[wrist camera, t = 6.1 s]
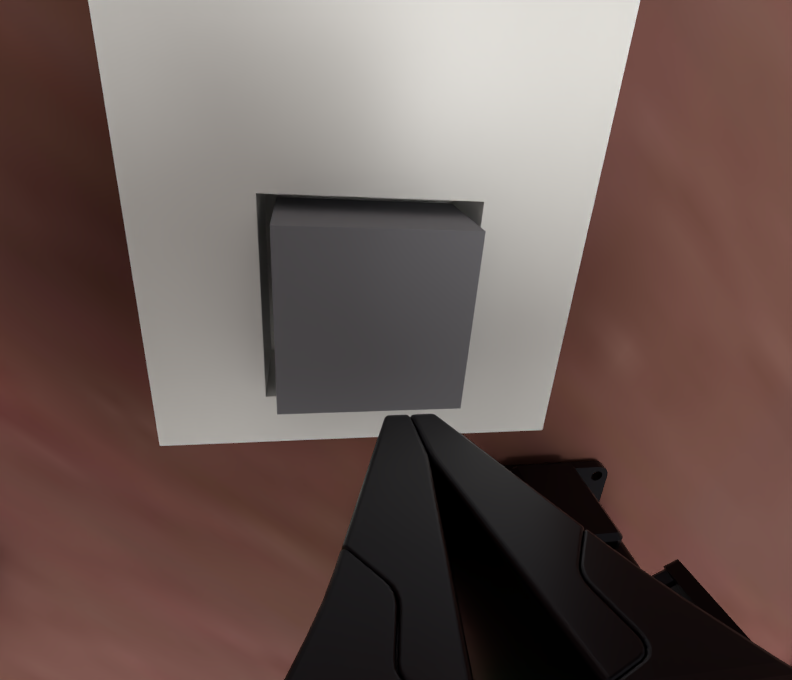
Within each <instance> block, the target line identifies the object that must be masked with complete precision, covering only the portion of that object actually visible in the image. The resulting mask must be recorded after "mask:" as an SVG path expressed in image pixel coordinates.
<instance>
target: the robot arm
mask: <svg viewBox="0 0 792 680" xmlns="http://www.w3.org/2000/svg"><path fill="white" fill-rule="evenodd" d="M595 472H596V473H595ZM593 473H594V474H593ZM606 478H607V470H606V468H605V467H604V466H603V465H602V463H600V462H599V461H586V462H567V463H548V464H530V465H511V466H503V465H501V464H500V463H499V462H497V461H496V460H495V459H493V458H492V457H491V456H489V455H488V454H487V453H485V452H484V451H483V450H481V449H480V448H479V447H477V446H476V445H475V444H474V443H472V442H471V441H470V440H468V439H467V438H466V437H464V436H463V435H462V434H460V433H459V432H458V431H456V430H455V429H454V428H452V427H451V426H450V425H448V424H447V423H446V422H444V421H443V420H442V419H441V418H439V417H438V416H436V415H435V414H414V415H412V416H411V417H409V416H408V415H387V416H386V417H385V418H384V421H383V424H382V427H381V430H380V433H379V436H378V439H377V442H376V445H375V448H374V451H373V454H372V457H371V460H370V464H369V467H368V470H367V473H366V476H365V479H364V482H363V485H362V488H361V491H360V494H359V497H358V500H357V503H356V506H355V509H354V512H353V515H352V518H351V521H350V525H349V528H348V531H347V534H346V537H345V540H344V543H343V546H342V550H341V551H340V554H339V557H338V560H337V563H336V566H335V569H334V572H333V575H332V577H331V580H330V583H329V585H328V588H327V591H326V593H325V596H324V599H323V601H322V604H321V606H320V608H319V610H318V612H317V614H316V617H315V619H314V621H313V623H312V625H311V627H310V630H309V632H308V634H307V636H306V638H305V640H304V642H303V644H302V646H301V648H300V650H299V652H298V654H297V656H296V658H295V660H294V662H293V664H292V666H291V668H290V670H289V671H288V673H287V675H286V677H285V679H284V680H792V667H791V666H790V665H788V664H786V663H785V662H783V661H781V660H780V659H778V658H777V657H775V656H773V655H772V654H770V653H769V652H767V651H766V650H764V649H763V648H761V647H760V646H758V645H756V644H755V643H753V642H752V641H751V640H750V639H749V638H748V637H747V636H746V635H745V633H744V632H743V631H742V630H741V629H740V628H739V627H738V626H737V625H736V623H735V622H734V621H733V620H732V619H731V618H730V617H729V616H728V615H727V613H726V612H725V611H724V610H723V609H722V608H721V607H720V606H719V604H718V603H717V602H716V601H715V600H714V599H713V598H712V597H711V596H710V594H709V593H708V592H707V591H706V590H705V589H704V588H703V587H702V586H701V584H700V583H699V582H698V581H697V580H696V579H695V578H694V577H693V576H692V574H691V573H690V572H689V571H688V570H687V569H686V568H685V567H684V566H683V564H682V563H681V562H680V561H679V560H678V559H677V560H675V561H673V562H671V563H669V564H667V565H665V566H664V570H662V571H660V572H658V573H656V574H654V575H652V576H651V575H649V574H648V573H646V572H645V571H643V570H642V569H641V568H640V567H639V565H638V564H637V563H636V561H635V560H634V558H633V557H632V555H631V554H630V552H629V551H628V550H627V548H626V547H625V545H624V544H623V542H622V541H621V540H622V534H621V533H620V531H619V530H618V528H617V527H616V526H615V524H614V523H613V521H612V520H611V519H610V517H609V516H608V514H607V513H606V511H605V510H604V509H603V507H602V506H601V504H600V503H599V500H600V497H601V494H602V491H603V487H604V484H605V481H606Z"/></svg>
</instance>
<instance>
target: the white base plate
mask: <svg viewBox="0 0 792 680" xmlns="http://www.w3.org/2000/svg"><path fill="white" fill-rule="evenodd" d="M88 3H89V9H90V15H91V21H92V28H93V34H94V40H95V46H96V53H97V59H98V65H99V71H100V77H101V84H102V90H103V96H104V102H105V109H106V115H107V121H108V127H109V133H110V140H111V146H112V152H113V158H114V165H115V171H116V177H117V183H118V189H119V196H120V202H121V208H122V214H123V221H124V227H125V233H126V239H127V245H128V252H129V258H130V264H131V270H132V277H133V283H134V289H135V295H136V301H137V308H138V314H139V320H140V326H141V333H142V339H143V345H144V351H145V357H146V364H147V370H148V376H149V382H150V389H151V395H152V401H153V407H154V414H155V420H156V426H157V432H158V438H159V445H160V446H172V445H196V444H220V443H244V442H267V441H291V440H315V439H339V438H363V437H378V436H379V433H380V430H381V427H382V424H383V421H384V418H385V417H386V416H387V415H408V416H409V417H411V416H412V415H414V414H435V415H436V416H438V417H439V418H441V419H442V420H443V421H444V422H446V423H447V424H448V425H450V426H451V427H452V428H454V429H455V430H456V431H458V432H459V433H483V432H507V431H531V430H542V429H543V424H544V420H545V416H546V411H547V407H548V403H549V398H550V394H551V389H552V385H553V381H554V376H555V372H556V368H557V363H558V359H559V354H560V350H561V346H562V341H563V337H564V332H565V328H566V324H567V319H568V315H569V311H570V306H571V302H572V297H573V293H574V289H575V284H576V280H577V275H578V271H579V267H580V262H581V258H582V254H583V249H584V245H585V240H586V236H587V232H588V227H589V223H590V218H591V214H592V210H593V205H594V201H595V197H596V192H597V188H598V183H599V179H600V175H601V170H602V166H603V161H604V157H605V153H606V148H607V144H608V140H609V135H610V131H611V126H612V122H613V118H614V113H615V109H616V104H617V100H618V96H619V91H620V87H621V83H622V78H623V74H624V69H625V65H626V61H627V56H628V52H629V47H630V43H631V39H632V34H633V30H634V26H635V21H636V17H637V12H638V8H639V4H640V0H88ZM276 197H287V198H315V199H342V200H370V201H398V202H425V203H452V204H453V205H454V206H455V207H457V208H458V209H459V210H460V211H462V212H463V213H464V214H465V215H466V216H468V217H469V218H470V219H471V220H472V221H474V222H475V223H476V224H477V225H479V226H480V227H481V228H482V229H483V230H485V231H486V233H485V240H484V247H483V254H482V261H481V268H480V275H479V282H478V289H477V296H476V303H475V310H474V317H473V324H472V331H471V338H470V345H469V352H468V359H467V366H466V373H465V380H464V387H463V394H462V401H461V408H457V409H427V410H397V411H367V412H336V413H306V414H277V399H276V374H275V348H274V322H273V297H272V271H271V245H270V222H271V218H272V214H273V209H274V205H275V201H276Z"/></svg>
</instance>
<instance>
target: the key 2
mask: <svg viewBox="0 0 792 680" xmlns="http://www.w3.org/2000/svg"><path fill="white" fill-rule="evenodd" d="M485 233H486V231H485V230H483V229H482V228H481V227H480V226H479V225H477V224H476V223H475V222H474V221H472V220H471V219H470V218H469V217H468V216H466V215H465V214H464V213H463V212H462V211H460V210H459V209H458V208H457V207H455V206H454V205H453V204H452V203H425V202H398V201H370V200H342V199H315V198H287V197H276V201H275V205H274V209H273V214H272V218H271V222H270V245H271V271H272V297H273V322H274V348H275V374H276V399H277V414H306V413H336V412H367V411H397V410H427V409H457V408H461V401H462V394H463V387H464V380H465V373H466V366H467V359H468V352H469V345H470V338H471V331H472V324H473V317H474V310H475V303H476V296H477V289H478V282H479V275H480V268H481V261H482V254H483V247H484V240H485Z"/></svg>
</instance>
